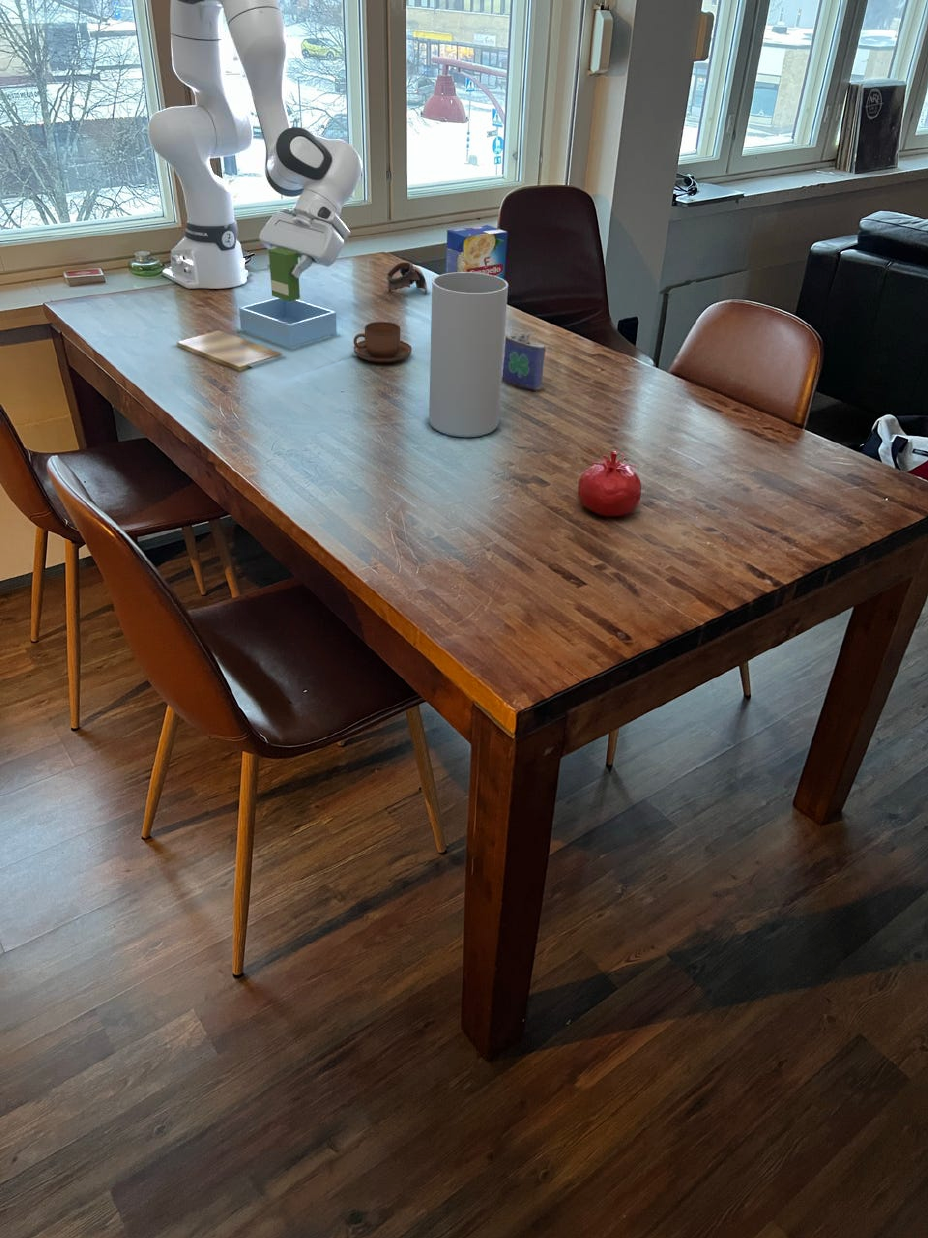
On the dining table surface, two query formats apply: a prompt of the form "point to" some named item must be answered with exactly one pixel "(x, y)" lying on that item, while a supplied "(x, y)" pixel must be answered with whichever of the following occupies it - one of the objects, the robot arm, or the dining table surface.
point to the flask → (523, 362)
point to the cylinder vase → (466, 352)
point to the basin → (288, 321)
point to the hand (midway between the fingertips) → (282, 272)
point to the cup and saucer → (381, 343)
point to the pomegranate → (610, 487)
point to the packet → (283, 274)
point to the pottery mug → (406, 277)
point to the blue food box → (476, 250)
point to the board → (227, 350)
